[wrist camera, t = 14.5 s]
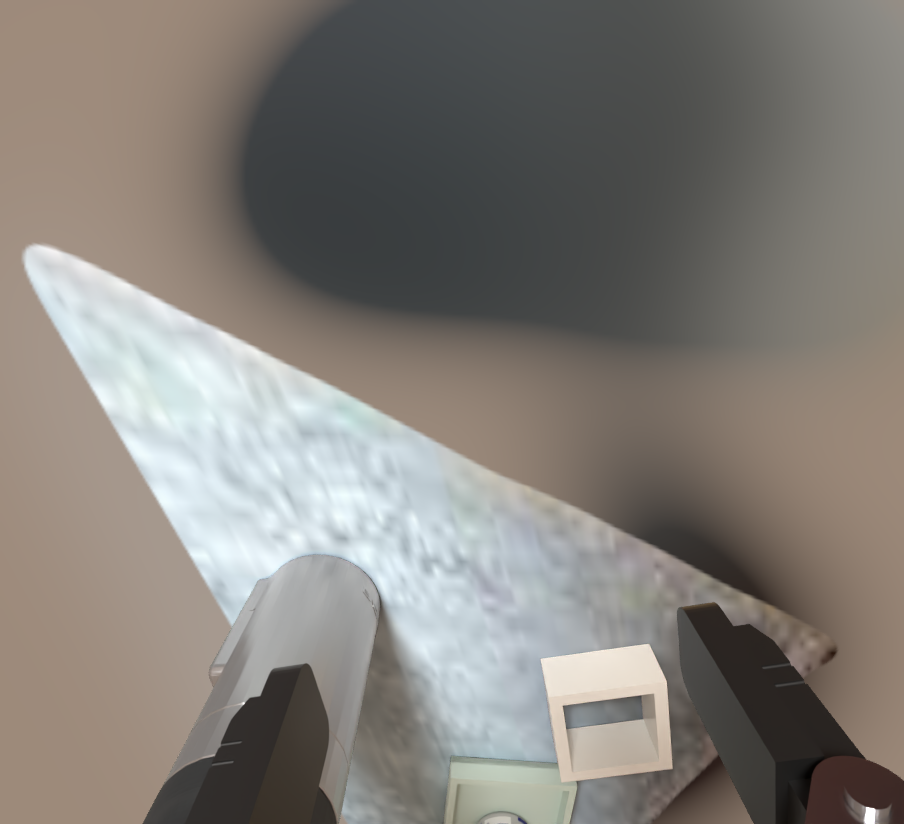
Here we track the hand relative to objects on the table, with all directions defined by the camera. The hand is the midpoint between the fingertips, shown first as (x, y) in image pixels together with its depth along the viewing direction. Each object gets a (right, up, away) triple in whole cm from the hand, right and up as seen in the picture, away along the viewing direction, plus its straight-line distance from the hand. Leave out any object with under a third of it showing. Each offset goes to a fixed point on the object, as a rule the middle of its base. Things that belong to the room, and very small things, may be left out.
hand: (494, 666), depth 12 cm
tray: (+4, -33, +40) cm, 52 cm away
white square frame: (+12, -19, +35) cm, 42 cm away
